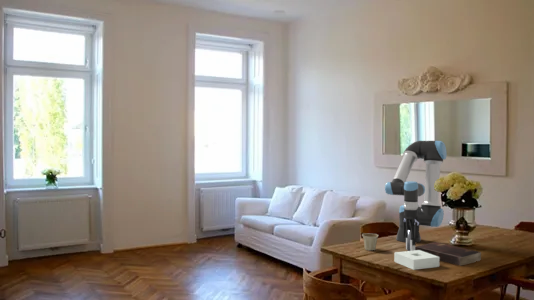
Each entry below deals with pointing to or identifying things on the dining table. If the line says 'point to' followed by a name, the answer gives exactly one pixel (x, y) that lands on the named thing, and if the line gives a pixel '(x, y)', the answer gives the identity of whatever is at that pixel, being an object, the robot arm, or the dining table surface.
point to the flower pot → (370, 241)
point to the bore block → (416, 259)
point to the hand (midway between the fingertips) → (410, 249)
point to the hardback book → (451, 253)
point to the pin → (409, 239)
